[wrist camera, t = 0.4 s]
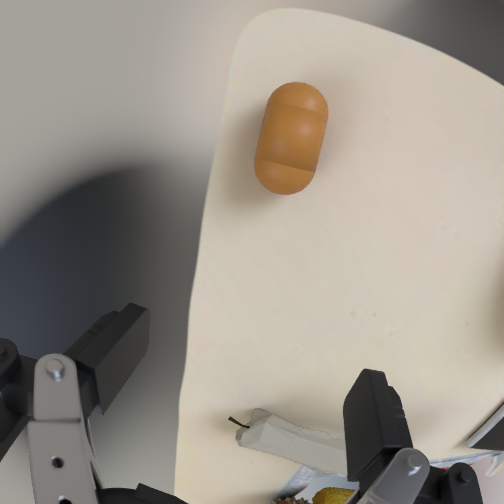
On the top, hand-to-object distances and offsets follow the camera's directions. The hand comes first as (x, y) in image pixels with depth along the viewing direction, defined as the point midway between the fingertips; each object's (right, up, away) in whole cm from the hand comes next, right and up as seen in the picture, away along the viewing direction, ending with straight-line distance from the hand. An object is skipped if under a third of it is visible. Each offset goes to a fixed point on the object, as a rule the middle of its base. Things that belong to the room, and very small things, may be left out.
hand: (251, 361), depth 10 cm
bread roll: (+3, +13, +12) cm, 18 cm away
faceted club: (+10, -18, +21) cm, 30 cm away
